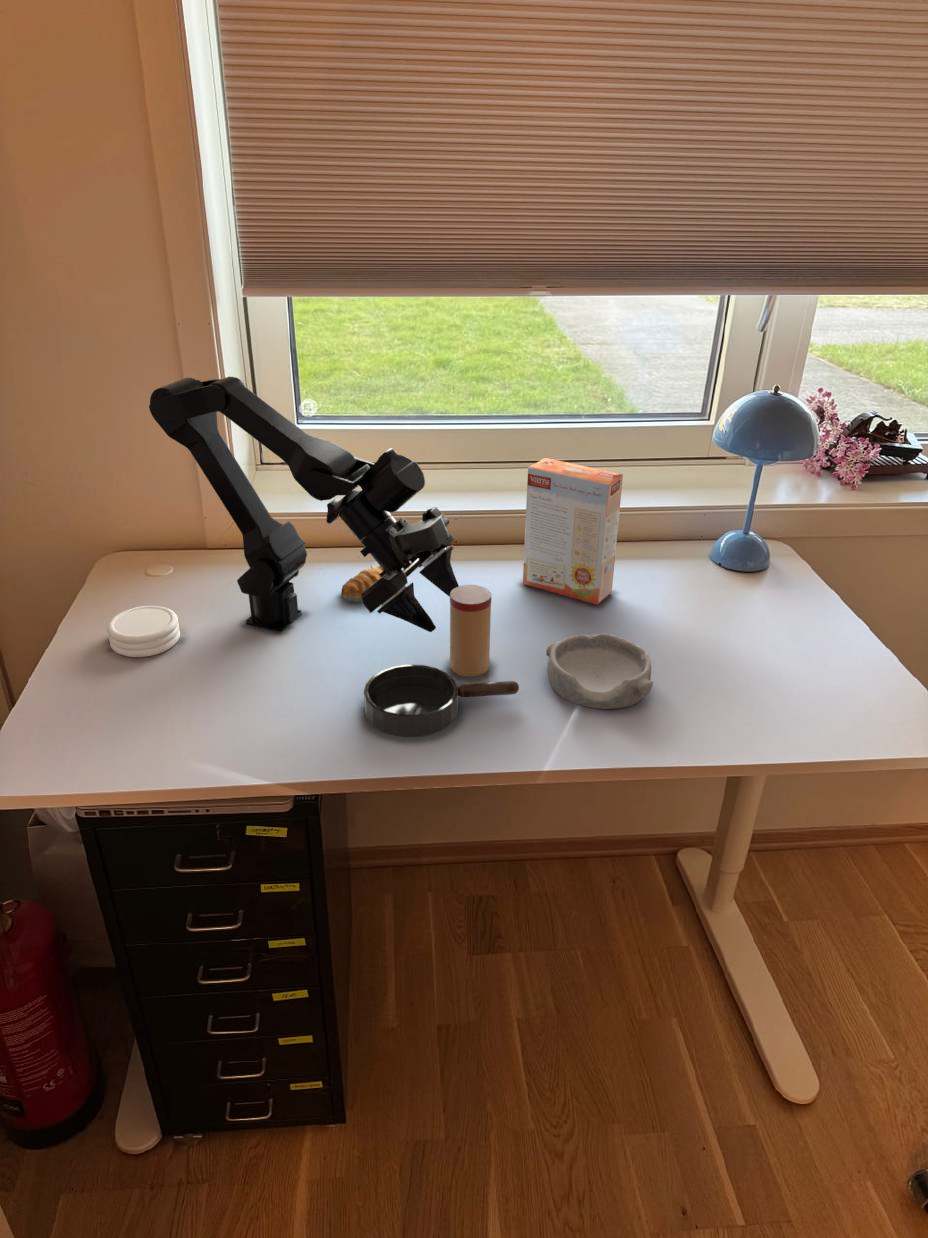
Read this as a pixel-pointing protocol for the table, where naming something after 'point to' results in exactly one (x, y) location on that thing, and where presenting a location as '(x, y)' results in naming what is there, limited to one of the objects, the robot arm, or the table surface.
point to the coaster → (143, 631)
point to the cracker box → (571, 529)
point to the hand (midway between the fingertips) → (447, 615)
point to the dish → (599, 671)
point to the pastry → (360, 583)
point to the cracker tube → (470, 629)
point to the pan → (411, 700)
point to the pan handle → (487, 689)
